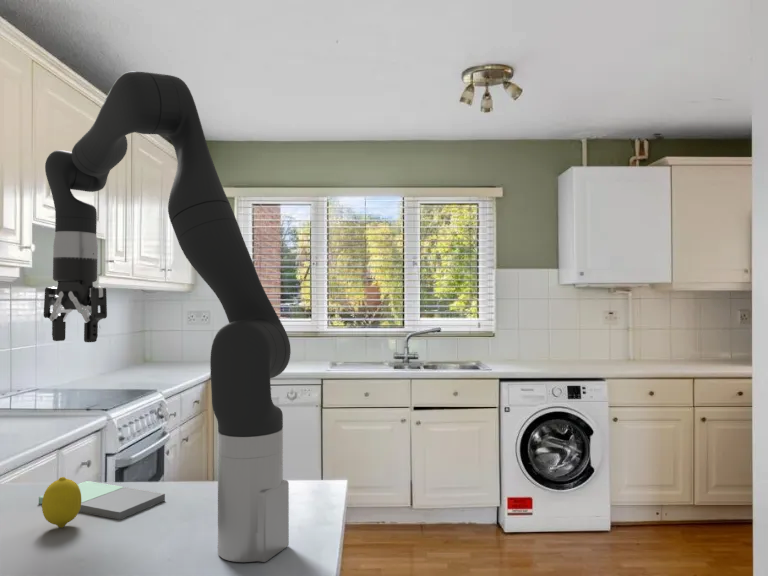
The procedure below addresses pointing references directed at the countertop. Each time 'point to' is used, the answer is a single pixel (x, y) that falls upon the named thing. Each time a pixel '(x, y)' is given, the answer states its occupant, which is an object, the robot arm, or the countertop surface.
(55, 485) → the lemon
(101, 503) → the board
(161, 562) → the countertop surface
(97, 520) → the countertop surface
